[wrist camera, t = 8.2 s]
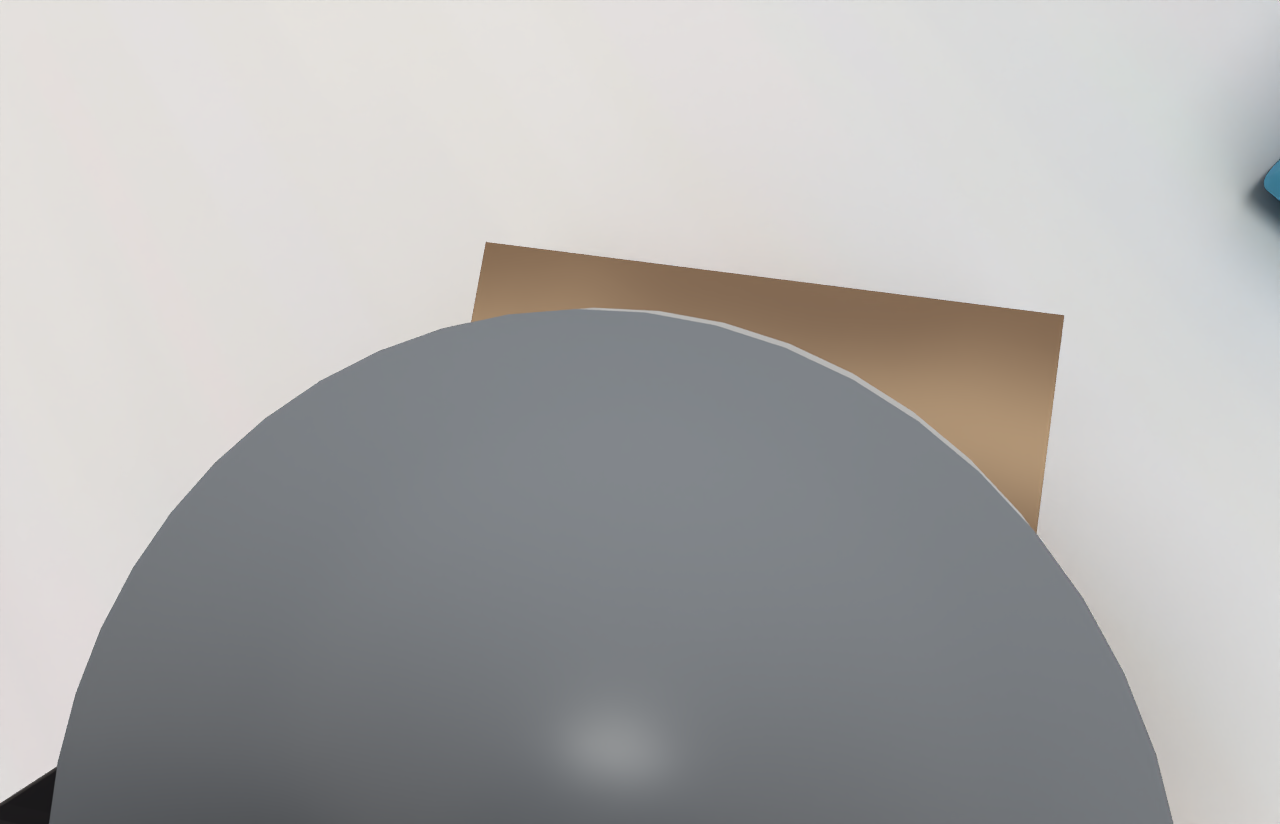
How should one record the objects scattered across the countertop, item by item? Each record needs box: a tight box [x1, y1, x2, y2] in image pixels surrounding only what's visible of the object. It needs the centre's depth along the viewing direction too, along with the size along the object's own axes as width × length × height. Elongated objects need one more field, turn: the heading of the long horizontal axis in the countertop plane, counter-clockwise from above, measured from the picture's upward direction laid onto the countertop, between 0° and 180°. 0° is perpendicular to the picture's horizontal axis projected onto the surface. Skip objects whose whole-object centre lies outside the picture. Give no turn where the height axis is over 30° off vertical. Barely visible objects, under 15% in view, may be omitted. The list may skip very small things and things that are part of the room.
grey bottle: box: [49, 308, 1173, 824], centre depth 10 cm, size 5×5×13 cm
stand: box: [471, 242, 1064, 533], centre depth 19 cm, size 13×13×4 cm
